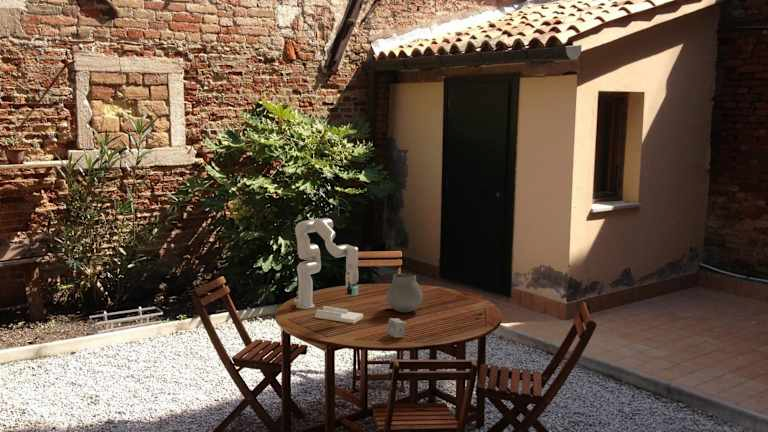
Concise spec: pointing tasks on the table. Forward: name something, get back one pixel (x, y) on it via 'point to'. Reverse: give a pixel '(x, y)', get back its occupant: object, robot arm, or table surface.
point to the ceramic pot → (404, 293)
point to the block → (355, 290)
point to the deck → (338, 315)
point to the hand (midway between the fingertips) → (351, 293)
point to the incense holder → (396, 328)
